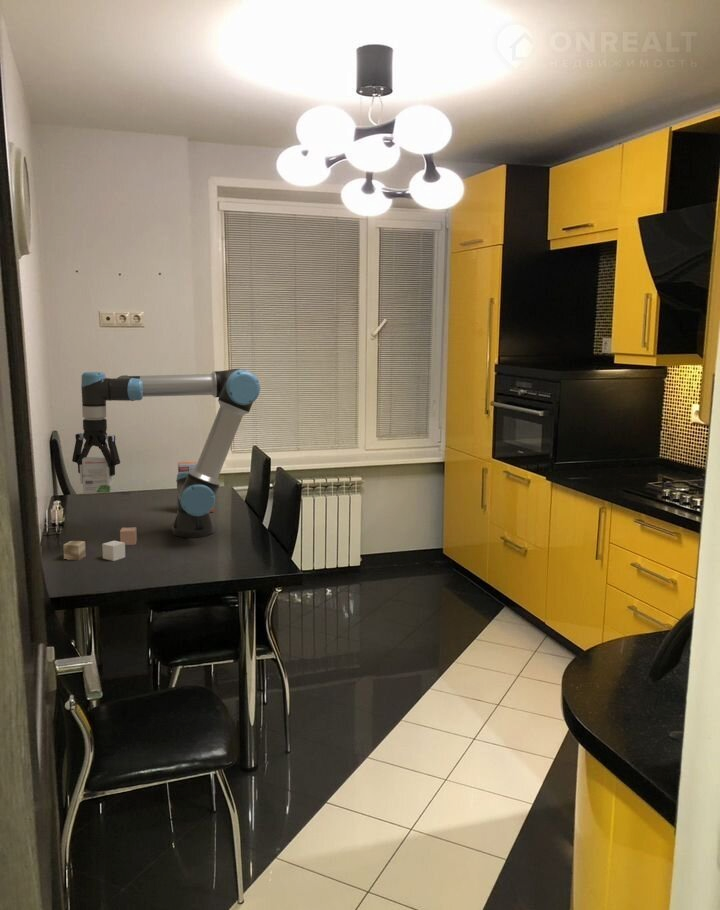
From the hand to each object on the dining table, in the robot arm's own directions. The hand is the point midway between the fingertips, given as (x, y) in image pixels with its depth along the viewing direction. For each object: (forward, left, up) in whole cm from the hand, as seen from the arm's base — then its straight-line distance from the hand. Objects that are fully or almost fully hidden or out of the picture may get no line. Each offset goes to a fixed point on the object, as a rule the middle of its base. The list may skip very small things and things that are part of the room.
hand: (96, 483), depth 249 cm
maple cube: (+1, +12, -23) cm, 26 cm away
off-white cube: (-11, +8, -23) cm, 26 cm away
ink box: (0, 0, -3) cm, 3 cm away
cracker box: (-7, -59, -23) cm, 64 cm away
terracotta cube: (-6, -9, -23) cm, 25 cm away
